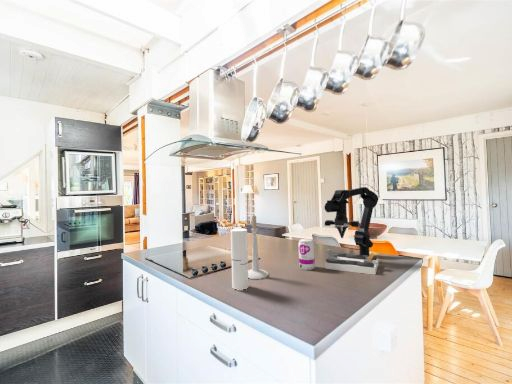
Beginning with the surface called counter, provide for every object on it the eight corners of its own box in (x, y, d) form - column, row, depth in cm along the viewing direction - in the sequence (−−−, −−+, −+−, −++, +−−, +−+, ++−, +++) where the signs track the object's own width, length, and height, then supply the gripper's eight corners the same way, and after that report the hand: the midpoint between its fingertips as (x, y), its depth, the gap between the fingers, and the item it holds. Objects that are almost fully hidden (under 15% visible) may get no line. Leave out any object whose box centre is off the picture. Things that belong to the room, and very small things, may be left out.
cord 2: (332, 255, 152) (332, 251, 152) (377, 259, 140) (376, 255, 140) (331, 256, 149) (331, 253, 149) (376, 260, 138) (376, 257, 138)
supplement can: (310, 271, 133) (310, 242, 133) (296, 268, 138) (295, 240, 138) (317, 267, 139) (316, 239, 139) (303, 265, 144) (302, 238, 144)
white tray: (333, 260, 152) (333, 251, 152) (378, 265, 140) (378, 255, 140) (325, 268, 137) (325, 259, 137) (375, 274, 125) (374, 264, 125)
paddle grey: (333, 258, 145) (328, 249, 147) (335, 256, 145) (330, 248, 146) (331, 259, 142) (326, 251, 143) (333, 258, 141) (328, 250, 142)
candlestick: (271, 272, 133) (269, 213, 133) (264, 280, 121) (262, 216, 121) (247, 270, 137) (246, 213, 137) (238, 278, 124) (237, 216, 124)
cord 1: (326, 261, 140) (326, 257, 140) (374, 266, 128) (374, 262, 128) (325, 262, 137) (325, 258, 137) (374, 268, 125) (373, 263, 125)
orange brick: (366, 259, 137) (371, 251, 136) (369, 261, 136) (374, 253, 135) (365, 261, 133) (370, 253, 132) (368, 263, 132) (373, 255, 131)
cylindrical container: (233, 284, 116) (231, 228, 116) (249, 284, 116) (247, 228, 116) (231, 290, 109) (229, 231, 109) (248, 290, 109) (246, 231, 109)
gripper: (321, 212, 149) (322, 239, 149) (356, 212, 140) (356, 241, 140) (326, 210, 159) (327, 236, 159) (359, 211, 150) (359, 238, 150)
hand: (342, 238), depth 151 cm, fingers closed
